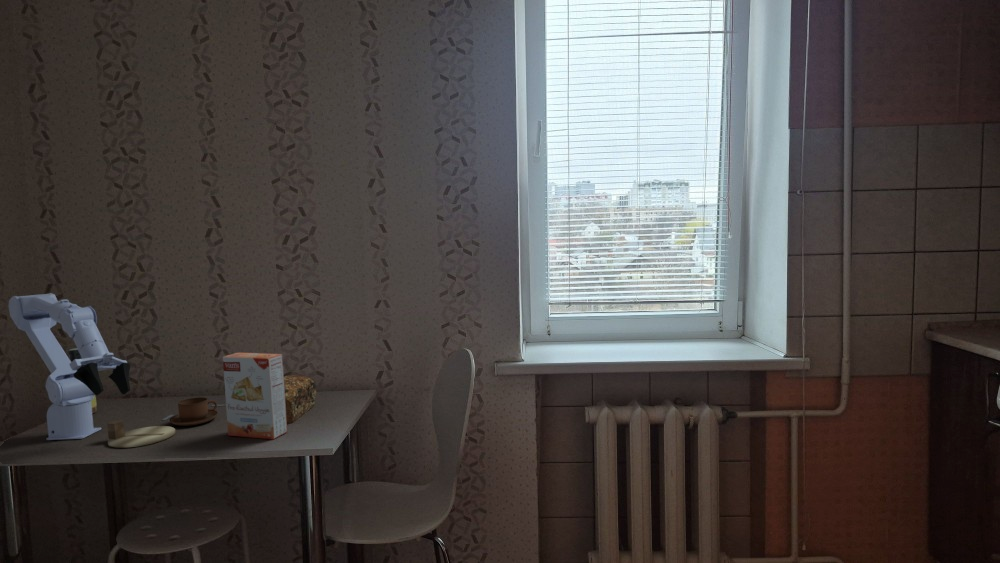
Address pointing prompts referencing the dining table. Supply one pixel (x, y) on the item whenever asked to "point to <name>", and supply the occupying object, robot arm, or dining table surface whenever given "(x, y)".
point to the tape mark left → (167, 417)
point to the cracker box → (255, 395)
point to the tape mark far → (219, 405)
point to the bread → (298, 396)
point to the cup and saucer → (194, 412)
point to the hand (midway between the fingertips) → (113, 392)
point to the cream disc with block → (136, 435)
